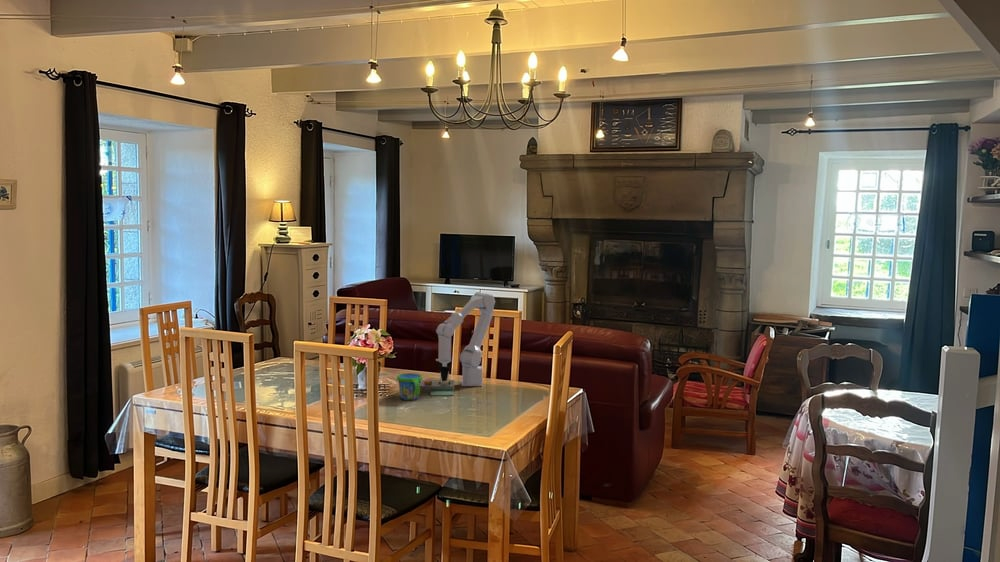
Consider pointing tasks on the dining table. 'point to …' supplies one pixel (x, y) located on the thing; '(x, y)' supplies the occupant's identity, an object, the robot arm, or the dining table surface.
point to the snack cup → (409, 386)
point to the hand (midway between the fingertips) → (444, 379)
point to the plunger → (427, 381)
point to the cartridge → (444, 381)
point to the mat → (441, 393)
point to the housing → (437, 386)
